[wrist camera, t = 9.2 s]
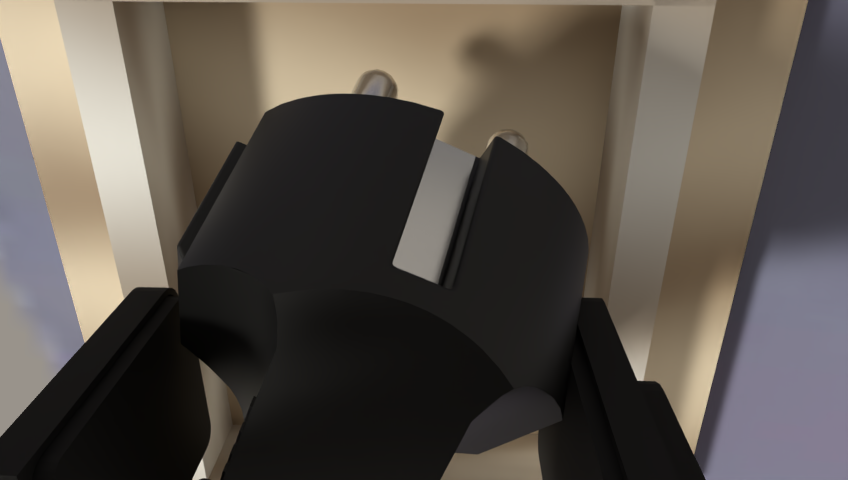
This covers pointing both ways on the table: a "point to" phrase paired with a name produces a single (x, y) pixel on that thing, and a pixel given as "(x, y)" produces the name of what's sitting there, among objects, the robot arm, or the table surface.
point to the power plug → (380, 290)
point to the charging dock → (461, 127)
